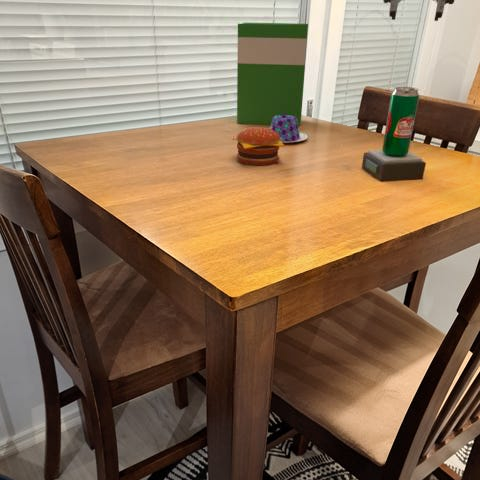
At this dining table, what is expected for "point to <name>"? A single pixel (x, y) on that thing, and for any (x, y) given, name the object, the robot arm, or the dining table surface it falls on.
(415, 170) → the scale
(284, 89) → the hardback book
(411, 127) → the soda can
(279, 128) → the pudding
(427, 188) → the dining table surface
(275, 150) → the hamburger
